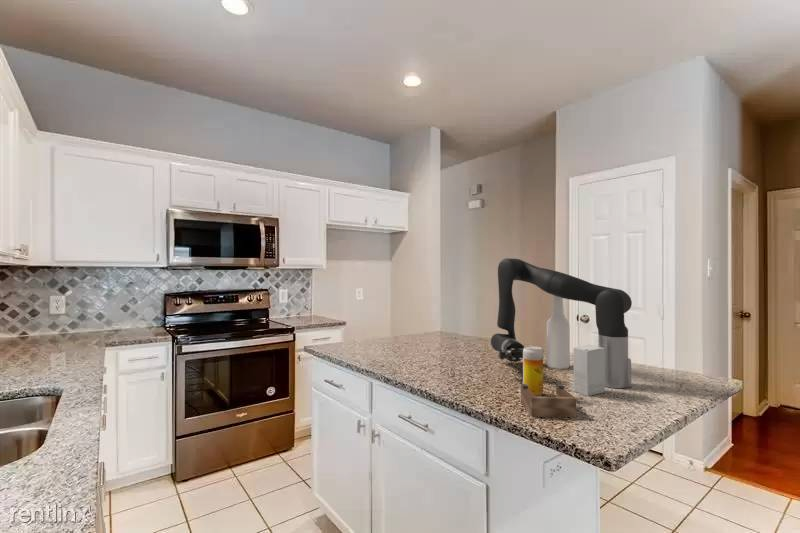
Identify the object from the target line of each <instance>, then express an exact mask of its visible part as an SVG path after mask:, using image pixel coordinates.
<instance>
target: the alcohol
mask: <svg viewBox="0 0 800 533" xmlns="http://www.w3.org/2000/svg"><path fill="white" fill-rule="evenodd" d="M564 310H565V309H564V298H561V297H558V296H555V295H552V310H551V316H550V317H549V318H548V320H547V321H546V365H547V367H548V368H549V369H555V370H566V369H569V368H570V363H571V362H570V361H571V356H570V354H571V350H570V348H571V347H570V346H571V345H570V344H571V343H570V342H571V340H570V336H571V334H570V331H571V330H570V328H571V327H570V326H571V325H570V322H569V320H568V319H567V318H566V317H565V311H564Z"/></svg>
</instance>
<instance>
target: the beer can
mask: <svg viewBox="0 0 800 533" xmlns="http://www.w3.org/2000/svg"><path fill="white" fill-rule="evenodd" d="M522 384H527V385H528V389H529V390H530V391H531V392H532V393H533V394H534V395H535V396H536V397H542V395H543V393H544V352H543V349H542V347H539V346H536V345H535V346H534V345H533V346H532V345H531V346H529V345H527V346H524V350H523V359H522Z"/></svg>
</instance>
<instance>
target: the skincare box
mask: <svg viewBox="0 0 800 533" xmlns="http://www.w3.org/2000/svg"><path fill="white" fill-rule="evenodd" d="M605 387H606V386H605V348H602V347H598V345H593V344H587V345H582V346H581V345H580V346H576V347H573V391H574V392H575V393H578V394H581V395H584V396H586V397H590V396H593V395H594V396H595V395H598V394H604V393H605V390H606V389H605Z"/></svg>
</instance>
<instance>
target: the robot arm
mask: <svg viewBox="0 0 800 533" xmlns="http://www.w3.org/2000/svg"><path fill="white" fill-rule="evenodd" d="M514 281H521V282H526V283H528V284H529V283H530V284H532V285H534V286H536V287H538V288H539V289H540V290H541V291H543V292H545V293H547V294H550V295H552V296H553V295H555V296H558V297H561V298H563V299H565V300H570V301H576V302H577V301H578V302H581V303H582V302H583V303H587V304H591V305H593V306H595V324H596V325H595V326H596V328H597V332H598V333H597V334H598V336H597V337H598V345H597V347H602V348H605V387H607V388H612V389H613V388H614V389H626V388H632V359H631V358H629V329H628V327H627V326H626V324H625V314H626V313H627V312H628V311H630V309H631V308H632V305H633V302H632V298H631V296H630V295H629V294H628V293H627V292H626V291H624V290H622V289H617V288H613V287H607V286H603V285H598V284H595V283H592V282H589V281H586V280H584V279H581V278H579V277H576V276H573V275H570V274H567V273H564V272H561V271H559V270H558V271H557V270H553V269H549V268H544V267H539V266H536V265H533V264H532V263H529V262H526V261H524V260H522V259H520V258H504V259H502V260H501V261H500V262H499V263H498V266H497V282H498V283H497V284H498V310H497V311H498V312H497V313H498V314H497V323H496V325H497V328H499V329H502V330H505V331H506V332H507V334H506V333H495V334H493V335H492V336H491V337H490V344H491V347H492V349H493V350H494V351H496V352H497V353H498V354H497V356H498V358H499V359H500V360H502V361H503V360H504V359H505V360H506V361H508V362H513V363H518V362H521V361H523V350H524V347H525V346H524V345H523V344H522V343H521V342H520V341H518V340H517V338H516V333H515V321H516V305H515V301H514V297H513V284H514Z"/></svg>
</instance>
